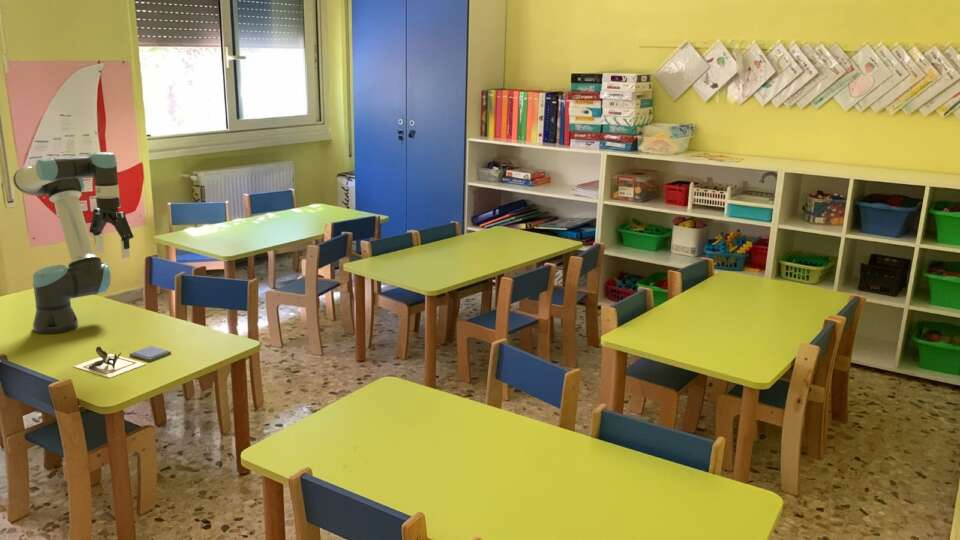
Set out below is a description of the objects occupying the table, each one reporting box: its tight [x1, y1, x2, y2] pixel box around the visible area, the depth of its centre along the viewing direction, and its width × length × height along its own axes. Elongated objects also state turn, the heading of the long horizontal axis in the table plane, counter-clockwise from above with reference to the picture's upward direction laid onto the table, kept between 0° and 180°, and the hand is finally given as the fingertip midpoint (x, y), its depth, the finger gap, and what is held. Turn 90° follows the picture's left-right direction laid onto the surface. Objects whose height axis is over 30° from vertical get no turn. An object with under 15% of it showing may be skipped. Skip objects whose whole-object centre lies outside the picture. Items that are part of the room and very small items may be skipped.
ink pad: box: [129, 345, 172, 362], centre depth 277 cm, size 10×9×1 cm
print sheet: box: [73, 353, 147, 379], centre depth 266 cm, size 18×14×1 cm
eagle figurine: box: [89, 346, 122, 368], centre depth 263 cm, size 8×7×9 cm
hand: (113, 255), depth 284 cm, fingers open, 13 cm apart
